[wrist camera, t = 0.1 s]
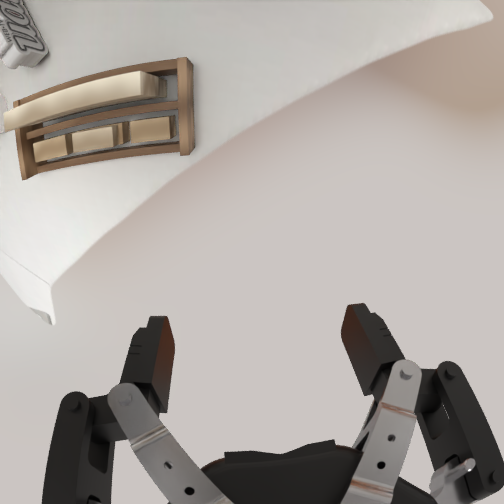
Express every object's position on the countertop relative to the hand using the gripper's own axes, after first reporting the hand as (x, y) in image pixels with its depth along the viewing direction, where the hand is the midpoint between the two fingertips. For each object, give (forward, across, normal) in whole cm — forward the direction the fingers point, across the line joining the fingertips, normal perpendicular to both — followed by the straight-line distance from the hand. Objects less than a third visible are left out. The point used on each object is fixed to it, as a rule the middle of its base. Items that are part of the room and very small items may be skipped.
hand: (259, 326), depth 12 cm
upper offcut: (+26, +18, -7) cm, 33 cm away
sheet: (+29, +18, -12) cm, 36 cm away
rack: (+29, +18, -9) cm, 35 cm away
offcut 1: (+29, +26, -7) cm, 39 cm away
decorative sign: (+30, +34, -31) cm, 55 cm away
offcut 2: (+29, +10, -7) cm, 32 cm away
